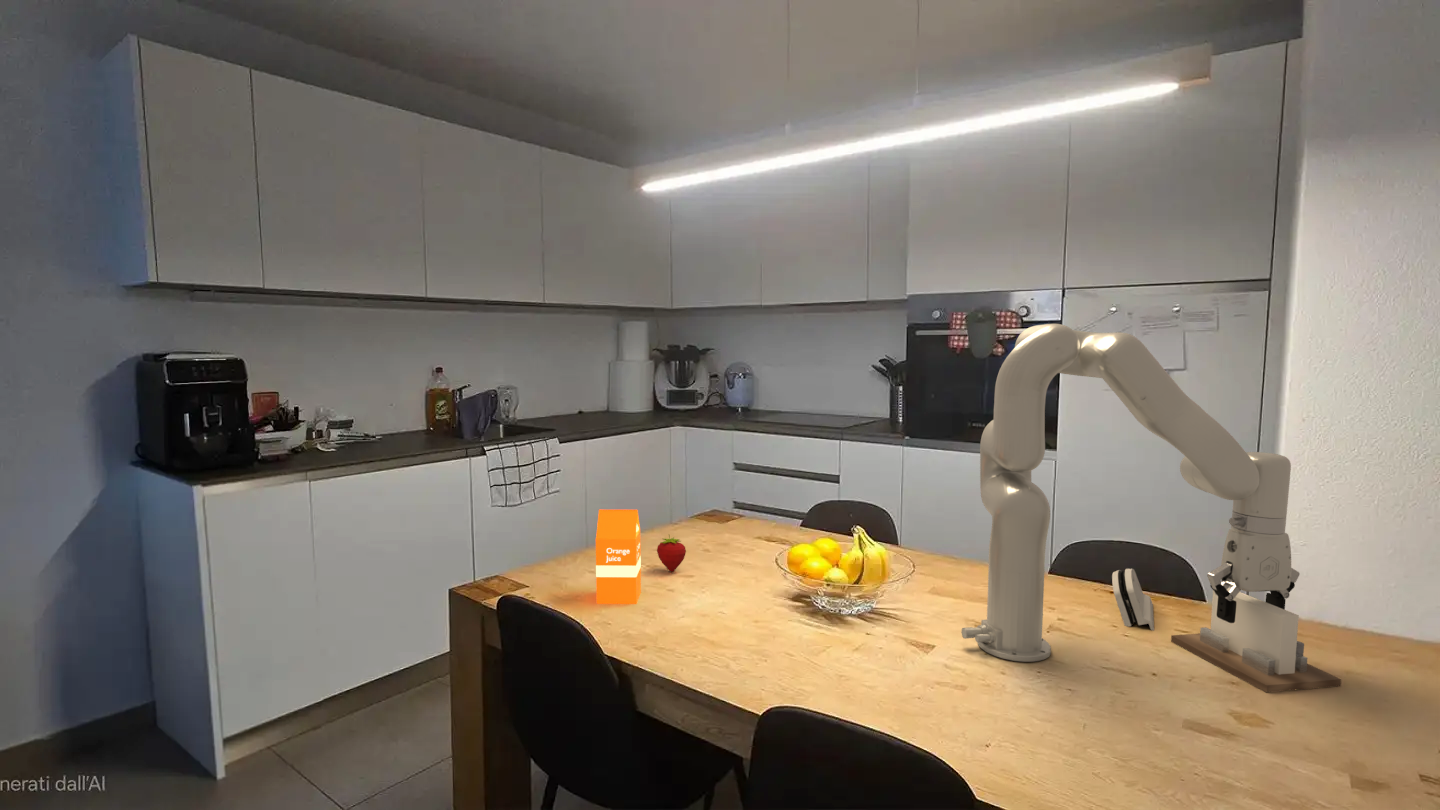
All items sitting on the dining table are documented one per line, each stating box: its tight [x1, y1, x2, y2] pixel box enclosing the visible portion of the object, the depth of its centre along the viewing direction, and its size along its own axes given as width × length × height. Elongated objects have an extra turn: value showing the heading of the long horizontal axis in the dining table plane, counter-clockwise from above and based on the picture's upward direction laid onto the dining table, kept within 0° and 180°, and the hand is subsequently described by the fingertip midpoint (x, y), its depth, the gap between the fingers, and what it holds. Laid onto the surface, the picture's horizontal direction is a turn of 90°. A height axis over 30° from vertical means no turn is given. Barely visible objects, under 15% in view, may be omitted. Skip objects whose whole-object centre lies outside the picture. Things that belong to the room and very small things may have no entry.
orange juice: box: [595, 509, 642, 605], centre depth 159 cm, size 8×9×20 cm
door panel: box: [1210, 587, 1299, 674], centre depth 126 cm, size 3×14×10 cm, turn 8°
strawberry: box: [656, 535, 687, 573], centre depth 177 cm, size 6×8×10 cm
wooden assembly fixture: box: [1170, 627, 1342, 693], centre depth 126 cm, size 14×20×5 cm
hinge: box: [1111, 568, 1155, 631], centre depth 149 cm, size 17×5×10 cm, turn 150°
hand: (1249, 619), depth 126 cm, fingers open, 9 cm apart
